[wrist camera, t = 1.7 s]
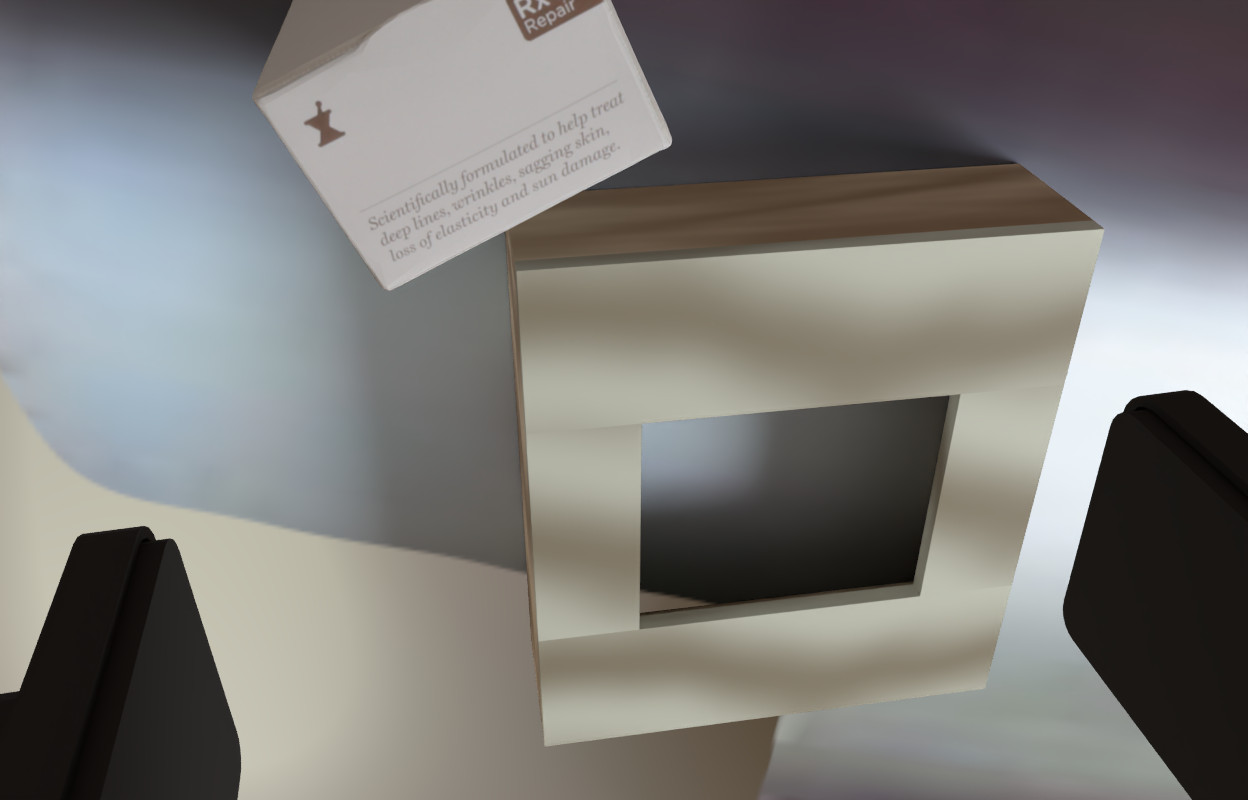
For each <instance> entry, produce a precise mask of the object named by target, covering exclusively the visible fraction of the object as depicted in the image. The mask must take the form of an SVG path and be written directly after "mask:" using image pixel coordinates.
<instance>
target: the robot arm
mask: <svg viewBox="0 0 1248 800" xmlns="http://www.w3.org/2000/svg"><path fill="white" fill-rule="evenodd" d="M1063 617H1064V621H1065V625H1066V628H1067V630H1068V633H1069V634H1070V636H1071V638H1072V639H1073V641H1074V642H1075V644H1076V645H1077V646H1078V648H1079V649H1080V650H1081V652H1082V653H1083V654H1084V656H1085V657H1086V658H1087V660H1088V661H1089V662H1090V664H1091V665H1092V666H1093V668H1094V669H1095V670H1096V672H1097V673H1098V674H1099V676H1100V677H1101V678H1102V680H1103V681H1104V682H1105V684H1106V685H1107V686H1108V688H1109V689H1110V690H1111V692H1112V693H1113V694H1114V696H1115V697H1116V698H1117V700H1118V701H1119V702H1120V704H1121V705H1122V706H1123V708H1124V709H1125V710H1126V712H1127V713H1128V714H1129V716H1130V717H1131V718H1132V720H1133V721H1134V723H1135V724H1136V725H1137V727H1138V728H1139V729H1140V731H1141V732H1142V733H1143V735H1144V736H1145V737H1146V739H1147V740H1148V741H1149V743H1150V744H1151V745H1152V747H1153V748H1154V749H1155V751H1156V752H1157V753H1158V755H1159V756H1160V757H1161V759H1162V760H1163V761H1164V763H1165V764H1166V765H1167V767H1168V768H1169V769H1170V771H1171V772H1172V773H1173V775H1174V776H1175V777H1176V779H1177V780H1178V781H1179V783H1180V784H1181V785H1182V787H1183V788H1184V789H1185V791H1186V792H1187V793H1188V795H1189V796H1190V797H1191V799H1192V800H1248V433H1246V432H1245V431H1244V430H1243V429H1242V428H1240V427H1239V426H1238V425H1237V424H1236V423H1234V422H1233V421H1232V420H1231V419H1230V418H1228V417H1227V416H1226V415H1225V414H1223V413H1222V412H1221V411H1220V410H1219V409H1217V408H1216V407H1215V406H1214V405H1213V404H1211V403H1210V402H1209V401H1208V400H1207V399H1205V398H1204V397H1203V396H1201V395H1200V394H1198V393H1196V392H1195V391H1188V390H1184V391H1176V392H1168V393H1161V394H1153V395H1145V396H1139V397H1136V398H1134V399H1132V400H1131V401H1130V402H1129V403H1128V404H1127V405H1126V407H1125V409H1124V412H1123V413H1120V414H1118V415H1117V416H1116V417H1115V418H1114V419H1113V421H1112V423H1111V426H1110V429H1109V433H1108V437H1107V441H1106V444H1105V448H1104V452H1103V456H1102V459H1101V463H1100V467H1099V471H1098V475H1097V478H1096V482H1095V486H1094V490H1093V493H1092V497H1091V501H1090V505H1089V508H1088V512H1087V516H1086V520H1085V523H1084V527H1083V531H1082V535H1081V539H1080V542H1079V546H1078V550H1077V554H1076V557H1075V561H1074V565H1073V569H1072V572H1071V576H1070V580H1069V584H1068V588H1067V591H1066V595H1065V599H1064V604H1063ZM240 773H241V754H240V744H239V738H238V734H237V731H236V728H235V725H234V721H233V718H232V715H231V712H230V709H229V706H228V703H227V699H226V697H225V693H224V690H223V687H222V684H221V681H220V677H219V674H218V671H217V668H216V665H215V662H214V658H213V655H212V652H211V649H210V646H209V643H208V640H207V636H206V633H205V630H204V627H203V624H202V621H201V618H200V614H199V611H198V608H197V605H196V602H195V599H194V596H193V593H192V589H191V586H190V583H189V580H188V577H187V573H186V570H185V567H184V564H183V561H182V558H181V555H180V551H179V549H178V546H177V544H176V543H175V541H174V540H173V539H163V540H156V539H155V537H154V534H153V533H152V531H151V530H150V529H149V528H148V527H146V526H140V527H133V528H125V529H117V530H110V531H102V532H94V533H87V534H82V535H80V536H79V537H77V539H76V541H75V542H74V544H73V547H72V549H71V552H70V555H69V558H68V560H67V563H66V566H65V569H64V571H63V574H62V577H61V579H60V582H59V585H58V588H57V590H56V593H55V596H54V598H53V601H52V604H51V607H50V609H49V612H48V615H47V617H46V620H45V623H44V626H43V628H42V631H41V634H40V636H39V639H38V642H37V645H36V647H35V650H34V653H33V655H32V658H31V661H30V664H29V667H28V669H27V672H26V675H25V677H24V680H23V683H22V685H21V688H20V691H17V692H11V693H4V694H0V800H237V798H238V790H239V782H240Z"/></svg>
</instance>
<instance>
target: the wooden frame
mask: <svg viewBox="0 0 1248 800" xmlns="http://www.w3.org/2000/svg"><path fill="white" fill-rule="evenodd" d="M1103 233H1104V228H1103V227H1101V226H1100V225H1099V224H1097V223H1096V222H1095V221H1093V220H1092V219H1091V218H1090V217H1088V216H1087V215H1086V214H1084V213H1083V212H1082V211H1080V210H1079V209H1078V208H1076V207H1075V206H1074V205H1073V204H1071V203H1070V202H1069V201H1067V200H1066V199H1065V198H1063V197H1062V196H1061V195H1060V194H1058V193H1057V192H1056V191H1054V190H1053V189H1052V188H1050V187H1049V186H1048V185H1047V184H1045V183H1044V182H1043V181H1041V180H1040V179H1039V178H1037V177H1036V176H1035V175H1033V174H1032V173H1031V172H1030V171H1028V170H1027V169H1026V168H1024V167H1023V166H1022V165H1020V164H1006V165H990V166H973V167H957V168H941V169H925V170H909V171H893V172H877V173H861V174H845V175H829V176H812V177H796V178H780V179H764V180H748V181H732V182H716V183H700V184H684V185H667V186H651V187H635V188H619V189H603V190H587V191H581V192H579V193H577V194H575V195H573V196H571V197H570V198H568V199H566V200H564V201H562V202H560V203H558V204H556V205H554V206H552V207H550V208H549V209H547V210H545V211H543V212H541V213H539V214H537V215H535V216H533V217H531V218H529V219H528V220H526V221H524V222H522V223H520V224H518V225H516V226H514V227H512V228H510V229H508V230H506V231H505V239H506V254H507V270H508V285H509V301H510V316H511V332H512V347H513V363H514V378H515V394H516V409H517V425H518V440H519V456H520V471H521V487H522V503H523V518H524V534H525V549H526V565H527V580H528V596H529V611H530V627H531V641H532V650H533V657H534V665H535V673H536V681H537V689H538V697H539V705H540V713H541V721H542V729H543V737H544V745H545V746H551V745H558V744H566V743H574V742H582V741H589V740H597V739H604V738H612V737H619V736H627V735H635V734H642V733H650V732H657V731H665V730H673V729H681V728H688V727H696V726H703V725H711V724H718V723H726V722H733V721H741V720H749V719H756V718H763V717H772V716H779V715H787V714H794V713H802V712H810V711H817V710H825V709H832V708H840V707H848V706H855V705H863V704H870V703H878V702H886V701H893V700H901V699H908V698H916V697H923V696H931V695H939V694H946V693H954V692H961V691H969V690H977V689H984V688H985V685H986V682H987V678H988V674H989V670H990V666H991V662H992V659H993V655H994V651H995V647H996V643H997V639H998V636H999V632H1000V628H1001V624H1002V620H1003V616H1004V613H1005V609H1006V605H1007V601H1008V597H1009V593H1010V590H1011V586H1012V582H1013V578H1014V574H1015V570H1016V567H1017V563H1018V559H1019V555H1020V551H1021V547H1022V544H1023V540H1024V536H1025V532H1026V528H1027V524H1028V521H1029V517H1030V513H1031V509H1032V505H1033V501H1034V498H1035V494H1036V490H1037V486H1038V482H1039V478H1040V475H1041V471H1042V467H1043V463H1044V459H1045V455H1046V452H1047V448H1048V444H1049V440H1050V436H1051V433H1052V429H1053V425H1054V421H1055V417H1056V413H1057V410H1058V406H1059V402H1060V398H1061V394H1062V390H1063V387H1064V383H1065V379H1066V375H1067V371H1068V367H1069V364H1070V360H1071V356H1072V352H1073V348H1074V344H1075V341H1076V337H1077V333H1078V329H1079V325H1080V321H1081V318H1082V314H1083V310H1084V306H1085V302H1086V298H1087V295H1088V291H1089V287H1090V283H1091V279H1092V275H1093V272H1094V268H1095V264H1096V260H1097V256H1098V252H1099V249H1100V245H1101V241H1102V237H1103ZM946 395H950V398H949V403H948V408H947V413H946V418H945V423H944V428H943V434H942V439H941V444H940V449H939V454H938V459H937V464H936V470H935V475H934V480H933V485H932V490H931V495H930V500H929V506H928V511H927V516H926V521H925V526H924V531H923V536H922V542H921V547H920V552H919V557H918V562H917V567H916V572H915V577H914V581H912V582H903V583H895V584H886V585H877V586H869V587H860V588H852V589H843V590H834V591H826V592H817V593H809V594H800V595H791V596H783V597H774V598H766V599H757V600H748V601H740V602H731V603H723V604H714V605H705V606H697V607H688V608H680V609H671V610H663V611H655V612H646V613H640V612H639V611H640V608H639V607H640V526H641V435H642V424H643V423H654V422H665V421H675V420H686V419H697V418H708V417H719V416H730V415H740V414H751V413H762V412H773V411H784V410H795V409H805V408H816V407H827V406H838V405H849V404H860V403H871V402H881V401H892V400H903V399H914V398H925V397H936V396H946Z"/></svg>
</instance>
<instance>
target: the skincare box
mask: <svg viewBox="0 0 1248 800" xmlns="http://www.w3.org/2000/svg"><path fill="white" fill-rule="evenodd" d="M253 101H254V103H255V104H256V105H257V107H258V108H259V109H260V110H261V112H262V113H263V114H264V116H265V117H266V118H267V120H268V121H269V123H270V124H271V125H272V127H273V128H274V130H275V131H276V133H277V134H278V136H279V137H280V139H281V140H282V142H283V143H284V144H285V146H286V147H287V149H288V150H289V152H290V153H291V155H292V156H293V158H294V159H295V161H296V162H297V164H298V165H299V167H300V168H301V169H302V171H303V172H304V174H305V175H306V177H307V178H308V180H309V181H310V183H311V184H312V186H313V187H314V189H315V190H316V192H317V193H318V194H319V196H320V197H321V199H322V200H323V202H324V203H325V205H326V206H327V208H328V209H329V211H330V212H331V213H332V215H333V216H334V218H335V219H336V221H337V222H338V224H339V225H340V227H341V228H342V230H343V231H344V232H345V234H346V235H347V237H348V239H349V240H350V242H351V243H352V244H353V246H354V247H355V249H356V250H357V252H358V253H359V255H360V256H361V258H362V259H363V260H364V262H365V263H366V265H367V266H368V268H369V270H370V271H371V273H372V274H373V276H374V277H375V279H376V280H377V282H378V283H379V285H380V286H381V287H382V288H383V289H384V290H388V291H391V290H393V289H395V288H397V287H399V286H401V285H403V284H405V283H407V282H409V281H411V280H412V279H414V278H416V277H418V276H420V275H422V274H424V273H426V272H427V271H429V270H431V269H433V268H435V267H437V266H439V265H441V264H443V263H445V262H446V261H448V260H450V259H452V258H454V257H456V256H458V255H460V254H462V253H464V252H466V251H468V250H470V249H472V248H474V247H475V246H477V245H479V244H481V243H483V242H485V241H487V240H489V239H491V238H493V237H495V236H497V235H499V234H501V233H502V232H504V231H506V230H508V229H510V228H512V227H514V226H516V225H518V224H520V223H522V222H524V221H526V220H528V219H529V218H531V217H533V216H535V215H537V214H539V213H541V212H543V211H545V210H547V209H549V208H550V207H552V206H554V205H556V204H558V203H560V202H562V201H564V200H566V199H568V198H570V197H571V196H573V195H575V194H577V193H579V192H581V191H583V190H585V189H587V188H589V187H591V186H593V185H595V184H597V183H599V182H601V181H603V180H605V179H607V178H608V177H610V176H612V175H614V174H616V173H618V172H620V171H622V170H624V169H626V168H628V167H630V166H632V165H634V164H636V163H637V162H639V161H641V160H643V159H645V158H647V157H649V156H651V155H653V154H655V153H657V152H659V151H661V150H664V149H666V148H668V147H669V146H671V143H672V137H671V135H670V132H669V129H668V127H667V124H666V122H665V120H664V117H663V115H662V113H661V111H660V109H659V107H658V105H657V102H656V100H655V98H654V96H653V94H652V92H651V89H650V87H649V85H648V83H647V81H646V78H645V76H644V74H643V72H642V70H641V67H640V65H639V63H638V61H637V58H636V56H635V54H634V52H633V49H632V47H631V45H630V43H629V40H628V38H627V36H626V34H625V31H624V29H623V27H622V25H621V22H620V20H619V18H618V16H617V14H616V11H615V9H614V7H613V4H612V2H611V0H293V1H292V4H291V6H290V9H289V11H288V14H287V16H286V18H285V20H284V22H283V25H282V27H281V30H280V32H279V34H278V37H277V39H276V41H275V43H274V45H273V48H272V50H271V52H270V55H269V57H268V59H267V61H266V64H265V66H264V68H263V71H262V73H261V75H260V77H259V80H258V83H257V85H256V87H255V89H254V92H253Z"/></svg>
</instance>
